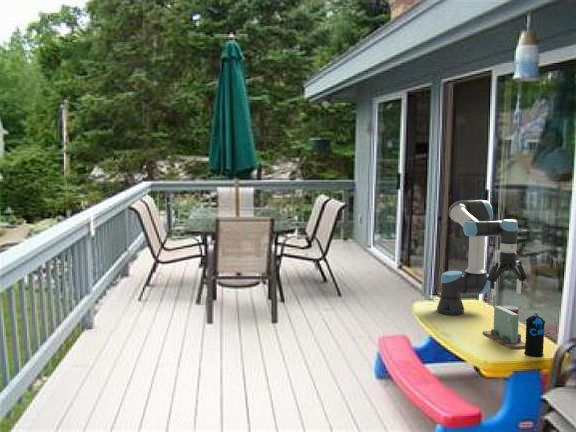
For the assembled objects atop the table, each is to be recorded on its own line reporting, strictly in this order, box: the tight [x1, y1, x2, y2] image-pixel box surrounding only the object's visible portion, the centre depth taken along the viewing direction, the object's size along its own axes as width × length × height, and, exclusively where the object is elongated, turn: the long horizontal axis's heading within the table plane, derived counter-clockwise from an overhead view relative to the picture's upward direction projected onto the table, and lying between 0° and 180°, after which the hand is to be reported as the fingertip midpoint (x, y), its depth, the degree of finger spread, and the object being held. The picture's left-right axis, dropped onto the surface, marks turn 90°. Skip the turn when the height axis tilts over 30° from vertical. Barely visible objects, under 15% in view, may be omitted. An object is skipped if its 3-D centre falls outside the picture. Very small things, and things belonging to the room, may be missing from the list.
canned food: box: [501, 304, 519, 315], centre depth 309 cm, size 8×8×11 cm
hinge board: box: [482, 328, 525, 350], centre depth 289 cm, size 24×10×4 cm, turn 12°
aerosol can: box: [523, 311, 546, 358], centre depth 269 cm, size 8×8×20 cm
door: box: [493, 305, 520, 344], centre depth 288 cm, size 16×4×14 cm, turn 12°
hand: (506, 294), depth 287 cm, fingers open, 13 cm apart
